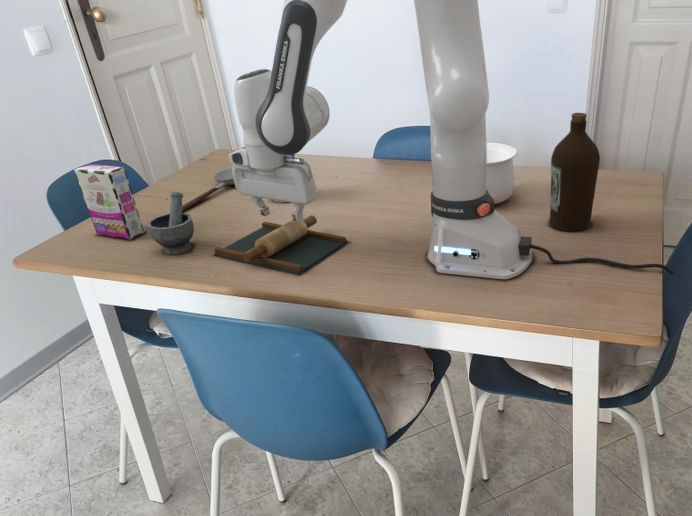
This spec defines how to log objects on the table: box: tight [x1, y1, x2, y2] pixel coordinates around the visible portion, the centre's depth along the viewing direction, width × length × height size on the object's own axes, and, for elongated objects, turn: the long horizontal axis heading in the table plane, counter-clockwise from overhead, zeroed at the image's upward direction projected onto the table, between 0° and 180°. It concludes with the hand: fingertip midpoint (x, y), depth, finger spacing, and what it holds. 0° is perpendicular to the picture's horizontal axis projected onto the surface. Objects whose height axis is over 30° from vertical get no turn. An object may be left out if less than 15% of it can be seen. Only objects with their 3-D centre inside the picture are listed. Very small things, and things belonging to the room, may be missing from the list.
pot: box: [486, 141, 518, 205], centre depth 161 cm, size 22×17×12 cm
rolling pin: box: [243, 214, 318, 264], centre depth 141 cm, size 4×23×4 cm, turn 152°
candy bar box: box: [73, 163, 145, 241], centre depth 150 cm, size 11×5×16 cm, turn 68°
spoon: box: [182, 167, 235, 213], centre depth 174 cm, size 11×33×3 cm, turn 158°
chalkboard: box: [213, 221, 348, 276], centre depth 143 cm, size 24×18×2 cm
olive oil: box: [549, 112, 601, 232], centre depth 142 cm, size 11×11×25 cm
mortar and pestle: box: [147, 191, 195, 255], centre depth 143 cm, size 11×9×12 cm
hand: (281, 217), depth 139 cm, fingers open, 8 cm apart
